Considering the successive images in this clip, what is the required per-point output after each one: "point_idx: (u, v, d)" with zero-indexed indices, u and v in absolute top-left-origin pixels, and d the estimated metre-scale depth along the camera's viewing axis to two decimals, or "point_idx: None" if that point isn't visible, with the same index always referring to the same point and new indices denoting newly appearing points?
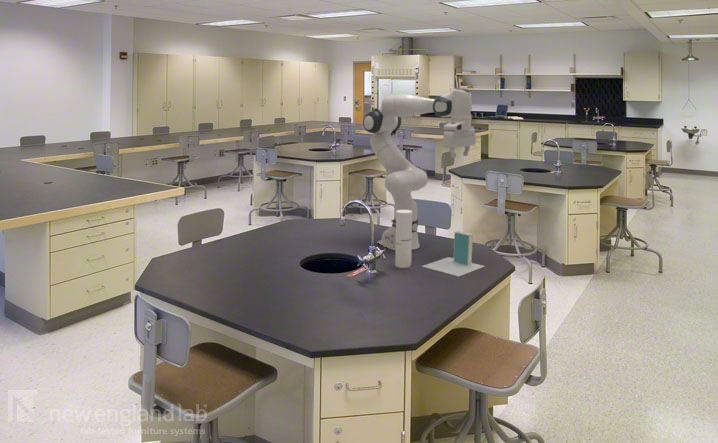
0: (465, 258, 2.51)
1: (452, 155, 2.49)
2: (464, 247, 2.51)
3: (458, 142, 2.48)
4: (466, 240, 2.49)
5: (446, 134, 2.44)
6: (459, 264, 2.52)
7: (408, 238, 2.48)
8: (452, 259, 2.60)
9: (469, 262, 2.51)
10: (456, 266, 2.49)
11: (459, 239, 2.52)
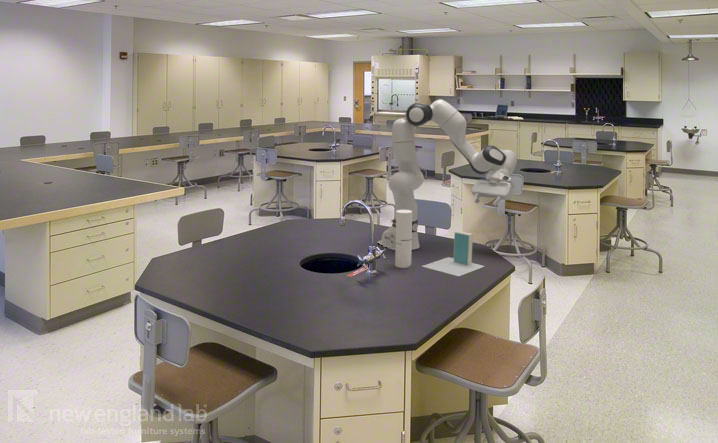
0: (465, 258, 2.51)
1: (495, 203, 2.57)
2: (464, 247, 2.51)
3: None
4: (466, 240, 2.49)
5: (511, 188, 2.56)
6: (459, 264, 2.52)
7: (408, 238, 2.48)
8: (452, 259, 2.60)
9: (469, 262, 2.51)
10: (456, 266, 2.49)
11: (459, 239, 2.52)
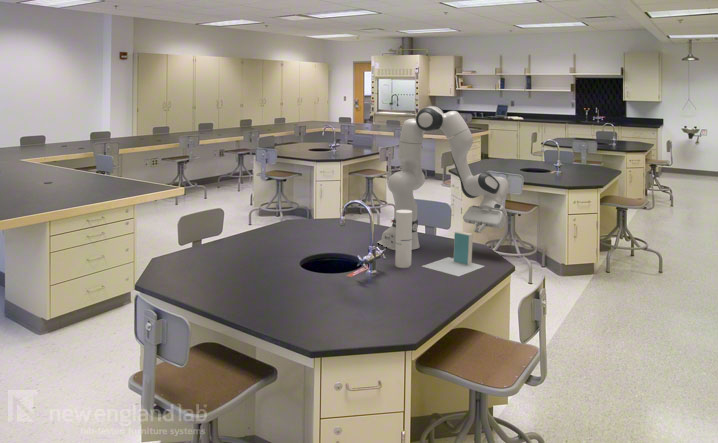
0: (465, 258, 2.51)
1: (480, 230, 2.58)
2: (464, 247, 2.51)
3: None
4: (466, 240, 2.49)
5: (503, 216, 2.55)
6: (459, 264, 2.52)
7: (408, 238, 2.48)
8: (452, 259, 2.60)
9: (469, 262, 2.51)
10: (456, 266, 2.49)
11: (459, 239, 2.52)
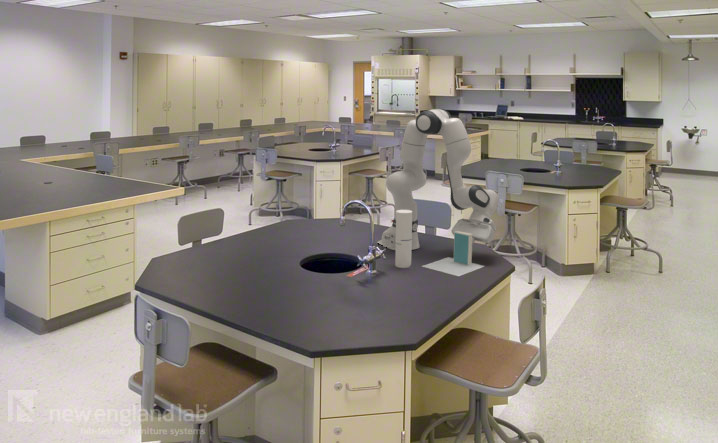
0: (465, 258, 2.51)
1: None
2: (464, 247, 2.51)
3: None
4: (466, 240, 2.49)
5: (492, 230, 2.51)
6: (459, 264, 2.52)
7: (408, 238, 2.48)
8: (452, 259, 2.60)
9: (469, 262, 2.51)
10: (456, 266, 2.49)
11: (459, 239, 2.52)
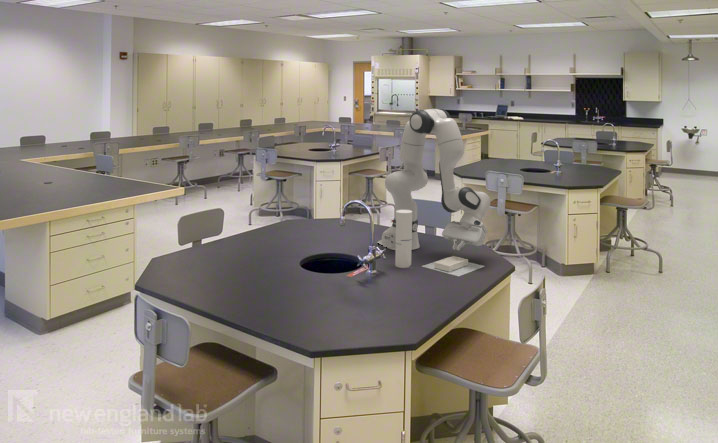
0: None
1: (459, 248, 2.48)
2: None
3: None
4: None
5: (483, 233, 2.46)
6: None
7: (408, 238, 2.48)
8: None
9: (466, 263, 2.50)
10: None
11: None
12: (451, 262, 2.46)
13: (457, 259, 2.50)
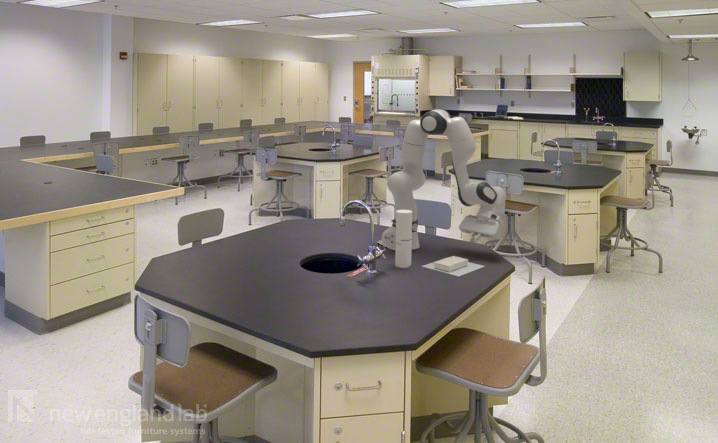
0: None
1: (476, 240, 2.58)
2: None
3: None
4: None
5: (499, 227, 2.55)
6: None
7: (408, 238, 2.48)
8: None
9: (466, 263, 2.50)
10: None
11: None
12: (451, 262, 2.46)
13: (457, 259, 2.50)
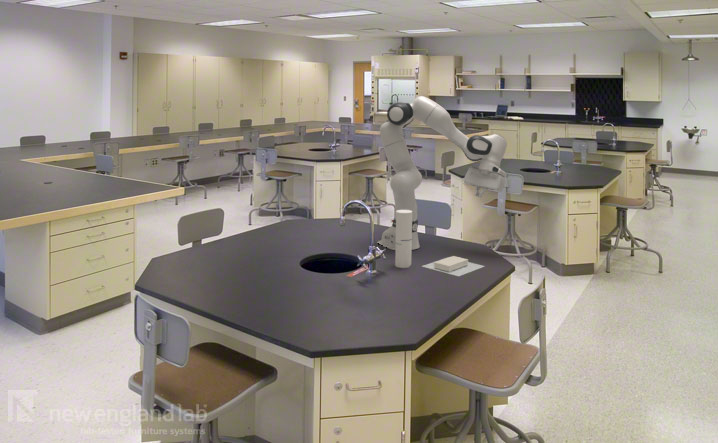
0: None
1: (481, 195, 2.60)
2: None
3: None
4: None
5: (502, 179, 2.54)
6: None
7: (408, 238, 2.48)
8: None
9: (466, 263, 2.50)
10: None
11: None
12: (451, 262, 2.46)
13: (457, 259, 2.50)
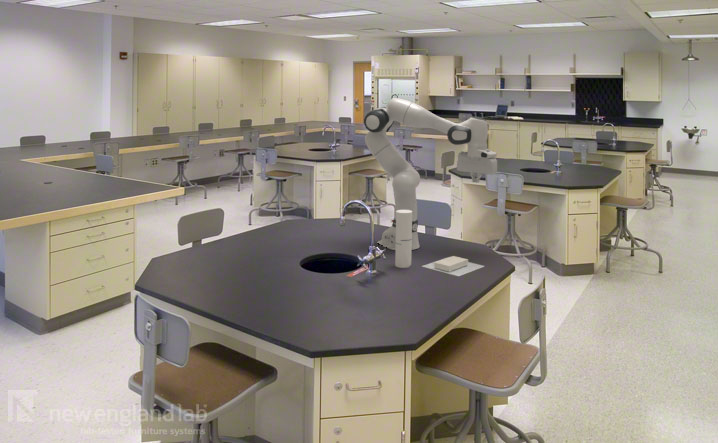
0: None
1: (478, 180, 2.62)
2: None
3: None
4: None
5: (493, 162, 2.54)
6: None
7: (408, 238, 2.48)
8: None
9: (466, 263, 2.50)
10: None
11: None
12: (451, 262, 2.46)
13: (457, 259, 2.50)
